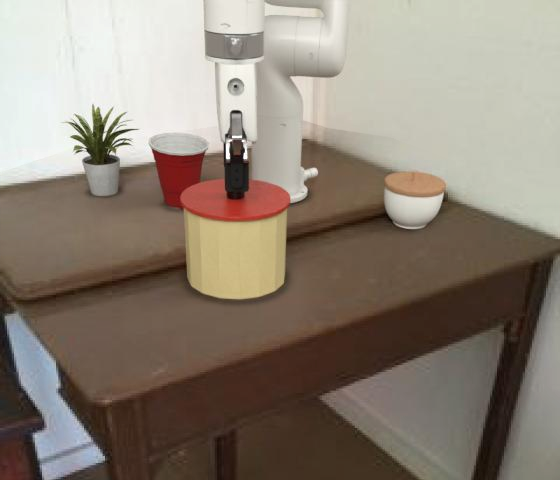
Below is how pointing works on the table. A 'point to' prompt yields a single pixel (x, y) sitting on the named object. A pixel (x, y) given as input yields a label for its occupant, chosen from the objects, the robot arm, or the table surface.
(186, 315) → the table surface
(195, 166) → the plastic cup
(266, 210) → the lid
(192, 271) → the tin
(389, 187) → the trinket box
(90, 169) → the house plant
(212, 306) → the table surface
